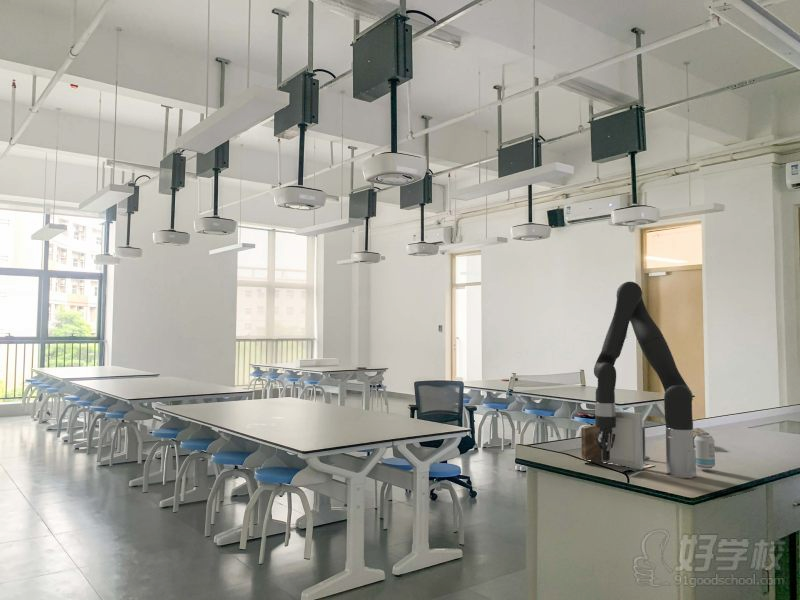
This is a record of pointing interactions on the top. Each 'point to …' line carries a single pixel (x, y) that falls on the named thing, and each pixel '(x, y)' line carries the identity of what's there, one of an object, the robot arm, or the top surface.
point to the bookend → (644, 445)
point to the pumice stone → (698, 431)
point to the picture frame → (627, 441)
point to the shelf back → (590, 443)
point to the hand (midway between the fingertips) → (606, 460)
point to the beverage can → (704, 451)
